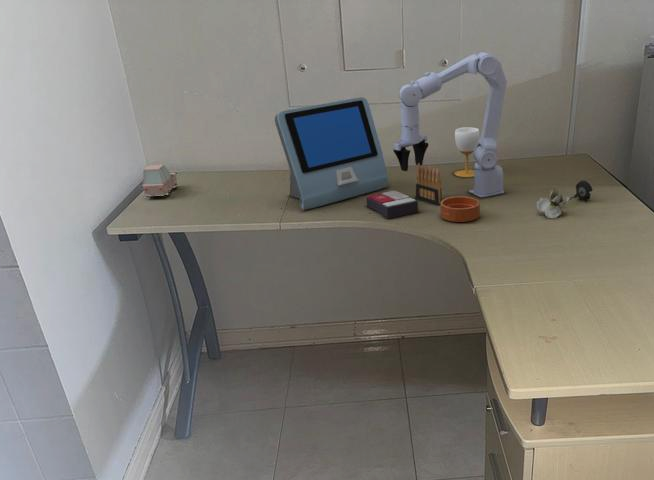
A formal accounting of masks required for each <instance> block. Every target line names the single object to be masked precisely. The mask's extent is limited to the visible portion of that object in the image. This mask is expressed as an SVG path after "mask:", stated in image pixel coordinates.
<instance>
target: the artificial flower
mask: <svg viewBox="0 0 654 480" xmlns="http://www.w3.org/2000/svg"><path fill="white" fill-rule="evenodd" d="M575 190H576V192H575V194H574V196H571V197H569V196H567V197H565V198H563V194H559V189H558V188H557V187H555V188H552V190H551V192H550V195H549V198H547V197H541V198H540V199H538V200H537V202H536V208H537V210H538V211H539V212H542V213H544V215H545V216H546V218H547V219H556V218H558V217H559V216H561V215H562V210H561V209H560V207H562V206H565V205H566V203H568V202H569V201H571V200H572V199H577V198H578V199H579V200H583V201H588V200H590V199H591V197H592V194H591V192H593V191H594V190H593V187H592V185H591V183H590V182H588V181H586V180H580V181H578V182H577V183H576V184H575ZM549 199H550V200H549Z"/></svg>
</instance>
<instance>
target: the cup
mask: <svg viewBox="0 0 654 480" xmlns="http://www.w3.org/2000/svg"><path fill="white" fill-rule="evenodd" d="M479 138H480V130H479V128H477V127H471V126H470V127H469V126H467V127H465V126H464V127H458V128H456V129H455V131H454V141H455V146H456V147H457V149H458V151H459V153H461V154H463V155H465V169H462V170H458V171H454V175H455V176H456V177H459V178H474V169H469V155H471V154H473V153H474V149H475V148H476V146H477V145H478V140H479Z"/></svg>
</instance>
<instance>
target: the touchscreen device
mask: <svg viewBox="0 0 654 480" xmlns="http://www.w3.org/2000/svg"><path fill="white" fill-rule="evenodd" d="M274 123H275V126H276V130H277V132H278V133H277V134H278V136H279V139H280V143H281V145H282V149H283V153H284V155H285V159H286V162H287V165H288V169H289V172H290V174H289V177H290V178H289V196H290V197H292V198H296V199H297V200H299V204H300V207H301V210H302V211H308V210H312V209H315V208H318V207H319V208H320V207H323V206H327V205H331V204H334V203H337V202H341V201H344V200H347V199H351V198H356V197H359V196H362V195H366V194H368V193H372V192H373V193H374V192H377V191H379V190H383V189H385V188H387V187H388V186H389V175H388V171H387V170H388V169H387V166H386V163H385V158H384V154H383V150H382V146H381V143H380V140H379V135H378V133H377V129H376V125H375V122H374V119H373V115H372V111H371V108H370V105H369V101H368V100H367V99H366V97H355V98H349V99H343V100H338V101H331V102H326V103H321V104H315V105H309V106H304V107H297V108H292V109H286V110H282V111H280V112H278V113H277V114H276V115H275V116H274Z"/></svg>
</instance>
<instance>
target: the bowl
mask: <svg viewBox="0 0 654 480" xmlns="http://www.w3.org/2000/svg"><path fill="white" fill-rule="evenodd" d="M439 206H440V217H441V218H442V219H443V220H446V221H448V222H449V221H450V222H452V223H465V222H466V223H467V222H471V221H475V220H477V219H478V218H479V217H480V213H481V201H480V200H479V199H477V198H474V197H471V196H450V197H447V198H444V199H442V201H441V203H440V204H439Z"/></svg>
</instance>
